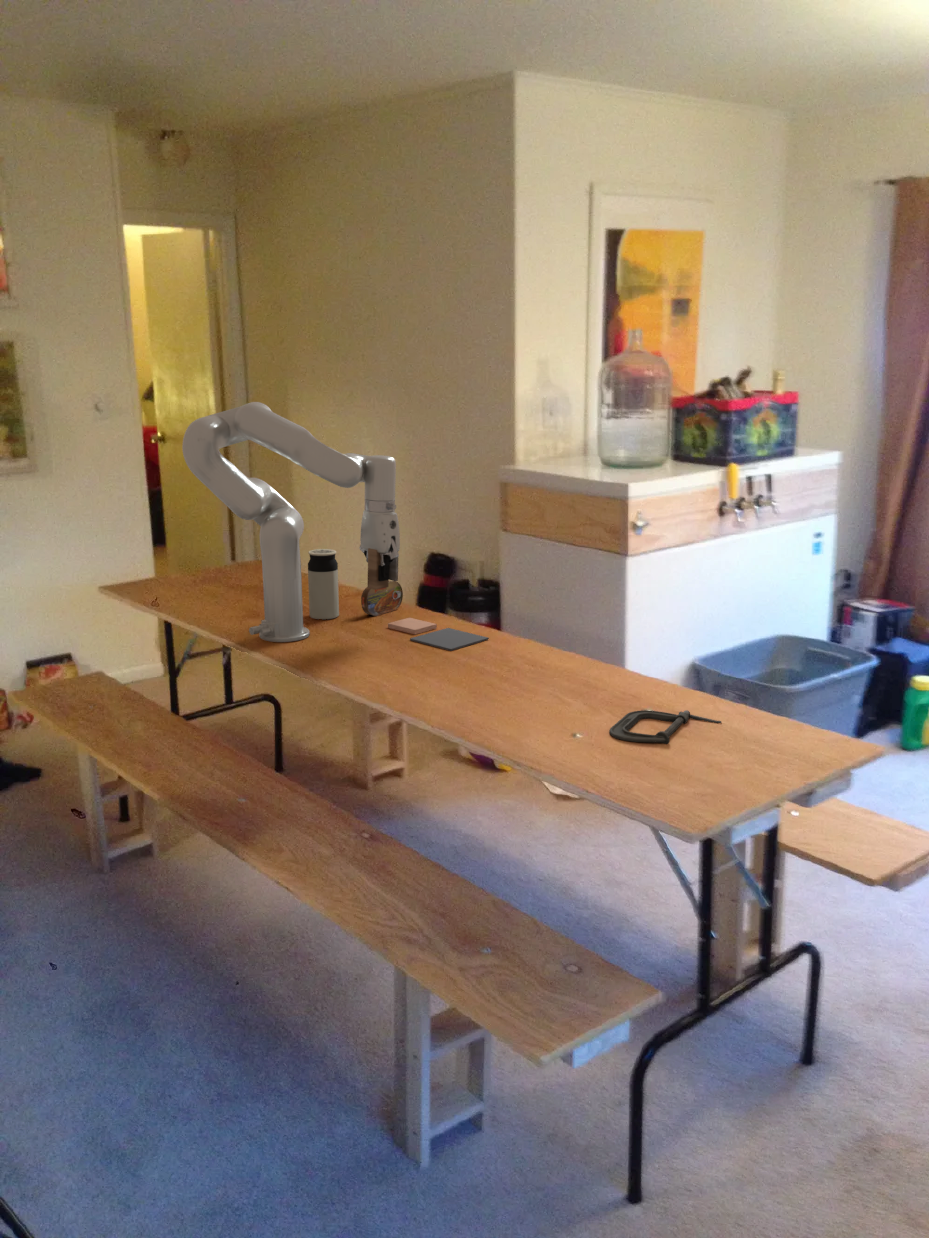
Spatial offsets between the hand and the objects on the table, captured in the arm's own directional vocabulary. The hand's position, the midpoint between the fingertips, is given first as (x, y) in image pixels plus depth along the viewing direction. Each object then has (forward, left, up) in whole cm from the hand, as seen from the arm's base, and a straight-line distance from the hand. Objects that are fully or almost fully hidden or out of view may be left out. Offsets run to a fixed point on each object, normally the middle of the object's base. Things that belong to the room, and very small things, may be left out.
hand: (378, 578), depth 268 cm
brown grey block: (0, 0, -2) cm, 2 cm away
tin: (+17, +17, -15) cm, 29 cm away
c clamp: (-9, -89, -16) cm, 91 cm away
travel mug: (+3, +25, -15) cm, 30 cm away
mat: (+9, -16, -15) cm, 24 cm away
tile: (+7, -1, -15) cm, 16 cm away
